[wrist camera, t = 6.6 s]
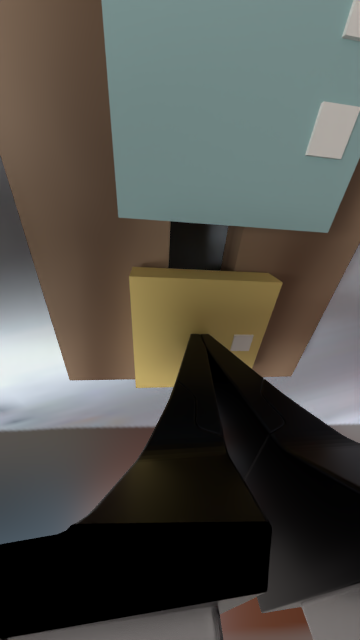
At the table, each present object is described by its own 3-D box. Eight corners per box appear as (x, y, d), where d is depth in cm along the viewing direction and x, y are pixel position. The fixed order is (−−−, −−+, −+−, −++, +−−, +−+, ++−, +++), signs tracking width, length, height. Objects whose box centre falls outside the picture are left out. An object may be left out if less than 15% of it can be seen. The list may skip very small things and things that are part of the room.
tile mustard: (140, 350, 13) (135, 389, 10) (136, 256, 10) (128, 277, 7) (229, 350, 14) (246, 386, 11) (252, 262, 10) (284, 283, 8)
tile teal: (131, 211, 8) (117, 217, 5) (118, -83, 5) (64, -457, 2) (276, 222, 8) (330, 233, 6) (349, -28, 5) (538, -251, 3)
